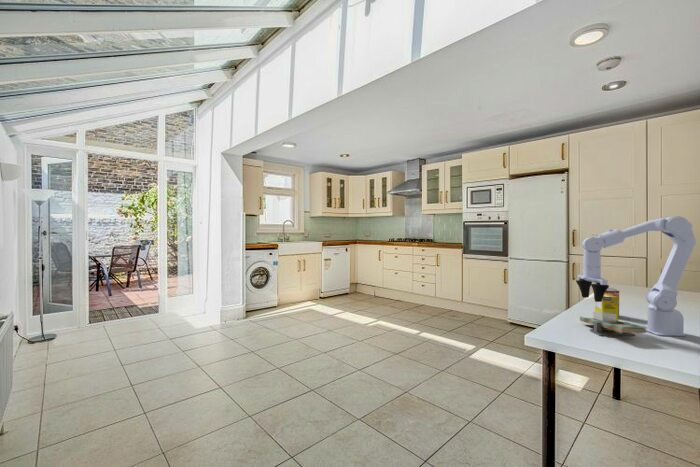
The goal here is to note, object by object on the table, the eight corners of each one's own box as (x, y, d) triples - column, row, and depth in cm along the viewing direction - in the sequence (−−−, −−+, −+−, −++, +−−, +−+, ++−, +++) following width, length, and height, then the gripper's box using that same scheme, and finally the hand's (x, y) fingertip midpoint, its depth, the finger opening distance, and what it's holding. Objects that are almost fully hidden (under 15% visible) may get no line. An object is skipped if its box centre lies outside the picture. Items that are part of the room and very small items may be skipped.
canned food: (603, 317, 141) (603, 290, 141) (593, 312, 149) (593, 287, 148) (623, 317, 139) (623, 290, 139) (611, 313, 147) (611, 287, 147)
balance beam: (579, 320, 131) (579, 316, 131) (600, 321, 131) (600, 316, 131) (621, 332, 109) (620, 327, 110) (646, 332, 109) (646, 327, 109)
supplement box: (618, 323, 132) (618, 297, 132) (602, 322, 133) (602, 296, 133) (610, 319, 138) (610, 294, 138) (594, 318, 139) (594, 293, 139)
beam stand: (590, 331, 122) (590, 320, 122) (623, 331, 121) (623, 320, 121) (599, 335, 117) (599, 324, 117) (634, 336, 116) (634, 324, 116)
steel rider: (607, 320, 125) (606, 311, 125) (616, 323, 120) (616, 313, 120) (593, 320, 125) (593, 311, 126) (602, 323, 120) (602, 313, 121)
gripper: (570, 264, 137) (570, 295, 137) (594, 268, 123) (593, 303, 123) (587, 264, 137) (587, 295, 137) (613, 268, 122) (612, 303, 123)
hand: (591, 299), depth 130 cm, fingers open, 7 cm apart
